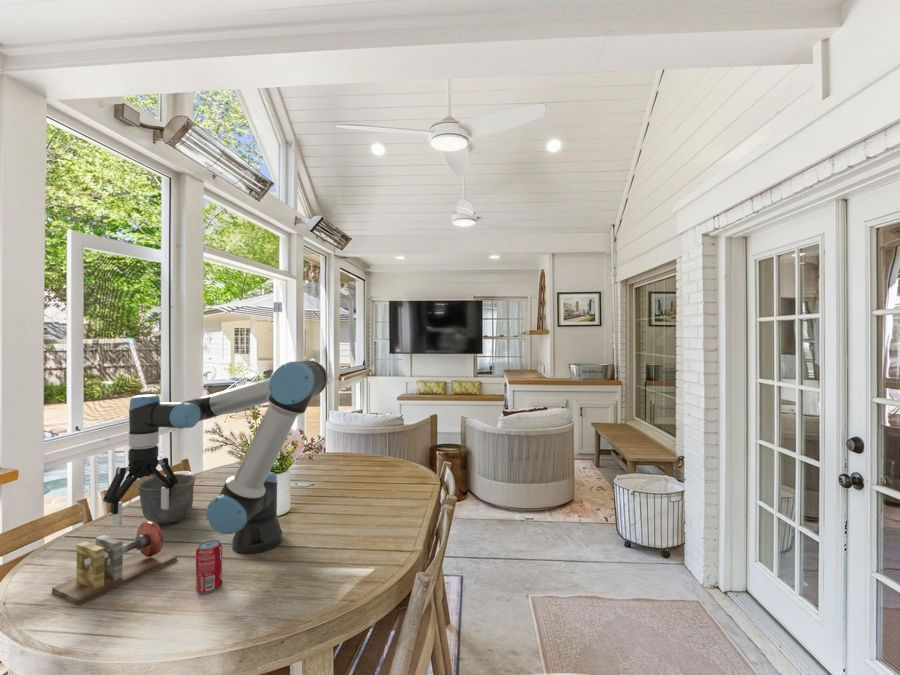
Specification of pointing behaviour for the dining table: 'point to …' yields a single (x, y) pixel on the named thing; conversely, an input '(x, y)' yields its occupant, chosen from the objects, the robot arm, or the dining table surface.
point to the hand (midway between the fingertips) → (142, 516)
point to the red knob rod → (141, 541)
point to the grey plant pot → (177, 502)
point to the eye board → (128, 575)
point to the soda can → (208, 566)
